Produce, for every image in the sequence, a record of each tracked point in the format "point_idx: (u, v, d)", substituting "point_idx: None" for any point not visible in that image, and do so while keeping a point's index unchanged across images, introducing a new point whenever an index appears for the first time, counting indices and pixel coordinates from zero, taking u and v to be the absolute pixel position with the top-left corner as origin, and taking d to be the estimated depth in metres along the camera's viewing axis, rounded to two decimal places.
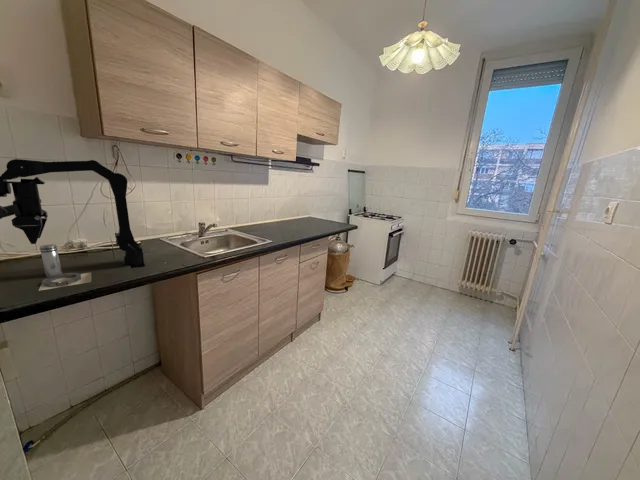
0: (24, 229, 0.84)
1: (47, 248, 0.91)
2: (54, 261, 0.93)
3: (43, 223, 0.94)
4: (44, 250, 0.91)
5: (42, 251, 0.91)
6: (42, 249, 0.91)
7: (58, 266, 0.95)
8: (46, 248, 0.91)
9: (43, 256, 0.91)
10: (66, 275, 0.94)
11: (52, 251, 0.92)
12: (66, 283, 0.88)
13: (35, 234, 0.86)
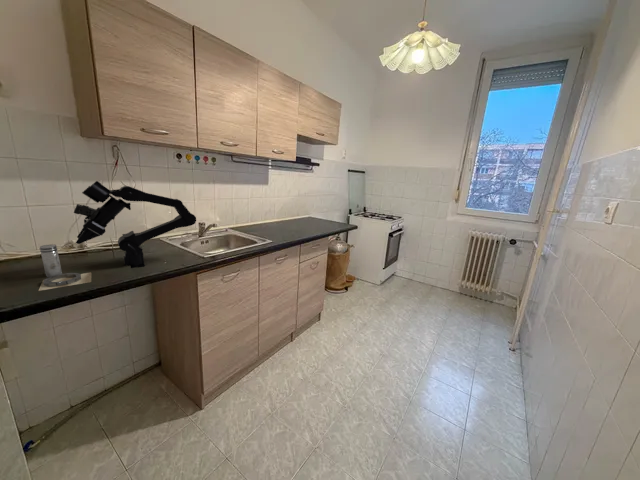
0: (85, 231, 0.94)
1: (47, 248, 0.91)
2: (54, 261, 0.93)
3: None
4: (44, 250, 0.91)
5: (42, 251, 0.91)
6: (42, 249, 0.91)
7: (58, 266, 0.95)
8: (46, 248, 0.91)
9: (43, 256, 0.91)
10: (66, 275, 0.94)
11: (52, 251, 0.92)
12: (66, 283, 0.88)
13: (87, 238, 0.95)
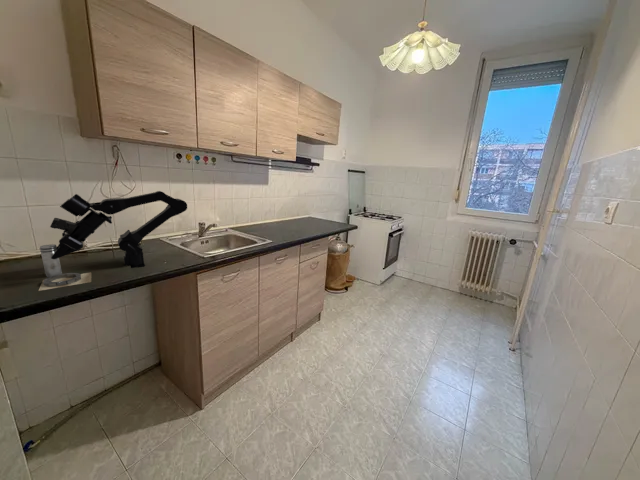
0: (62, 246, 0.90)
1: (47, 248, 0.91)
2: (54, 261, 0.93)
3: None
4: (44, 250, 0.91)
5: (42, 251, 0.91)
6: (42, 249, 0.91)
7: (58, 266, 0.95)
8: (46, 248, 0.91)
9: (43, 256, 0.91)
10: (66, 275, 0.94)
11: (52, 251, 0.92)
12: (66, 283, 0.88)
13: (63, 253, 0.91)
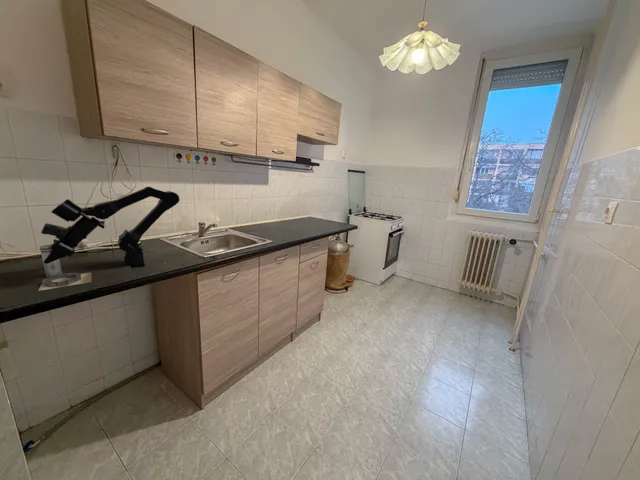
0: (54, 250, 0.91)
1: (47, 248, 0.91)
2: (54, 261, 0.93)
3: None
4: (44, 250, 0.91)
5: (42, 251, 0.91)
6: (42, 249, 0.91)
7: (58, 266, 0.95)
8: (46, 248, 0.91)
9: (43, 256, 0.91)
10: (66, 275, 0.94)
11: None
12: (66, 283, 0.88)
13: (55, 258, 0.92)
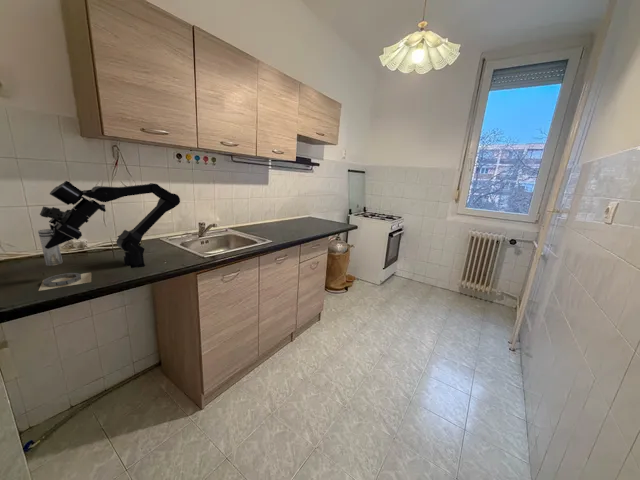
0: (57, 234, 0.87)
1: (48, 232, 0.87)
2: (55, 246, 0.89)
3: None
4: (44, 234, 0.87)
5: (42, 235, 0.86)
6: (42, 233, 0.86)
7: (59, 251, 0.91)
8: (47, 232, 0.87)
9: (43, 241, 0.87)
10: (66, 275, 0.94)
11: None
12: (66, 283, 0.88)
13: (58, 242, 0.88)
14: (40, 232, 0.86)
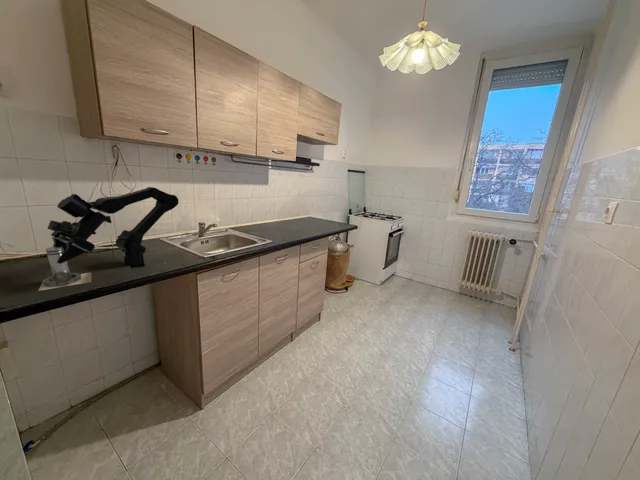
0: (70, 248, 0.87)
1: (57, 250, 0.87)
2: (64, 263, 0.89)
3: None
4: (54, 252, 0.86)
5: (51, 254, 0.86)
6: (51, 251, 0.86)
7: (68, 268, 0.90)
8: (56, 250, 0.86)
9: (52, 259, 0.86)
10: None
11: (62, 253, 0.88)
12: (66, 283, 0.88)
13: (70, 256, 0.88)
14: (49, 250, 0.85)
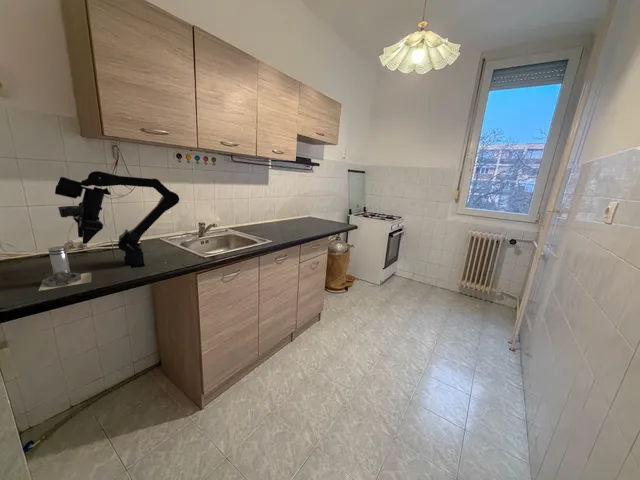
0: (85, 230, 0.94)
1: (60, 250, 0.87)
2: (66, 263, 0.89)
3: None
4: (56, 252, 0.86)
5: (54, 254, 0.86)
6: (54, 251, 0.86)
7: (69, 268, 0.91)
8: (59, 250, 0.87)
9: (54, 259, 0.87)
10: None
11: (64, 253, 0.88)
12: (66, 283, 0.88)
13: (90, 236, 0.96)
14: (51, 250, 0.86)
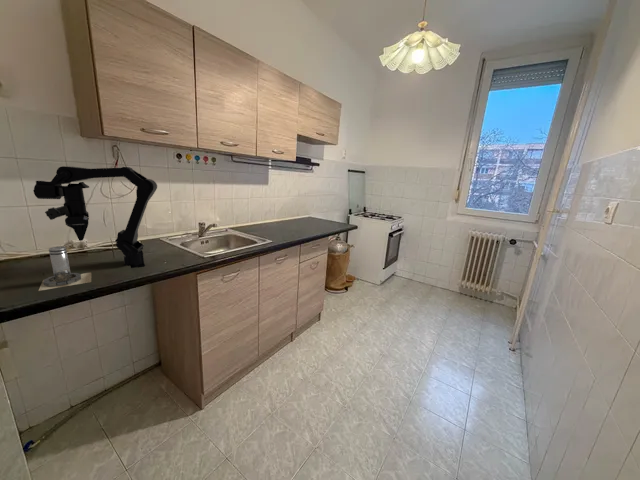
0: (74, 227, 0.96)
1: (60, 250, 0.87)
2: (66, 263, 0.89)
3: None
4: (57, 252, 0.86)
5: (54, 253, 0.86)
6: (54, 251, 0.86)
7: (69, 268, 0.91)
8: (59, 250, 0.87)
9: (55, 259, 0.87)
10: None
11: (64, 253, 0.88)
12: (66, 283, 0.88)
13: (82, 232, 0.98)
14: (52, 250, 0.86)
